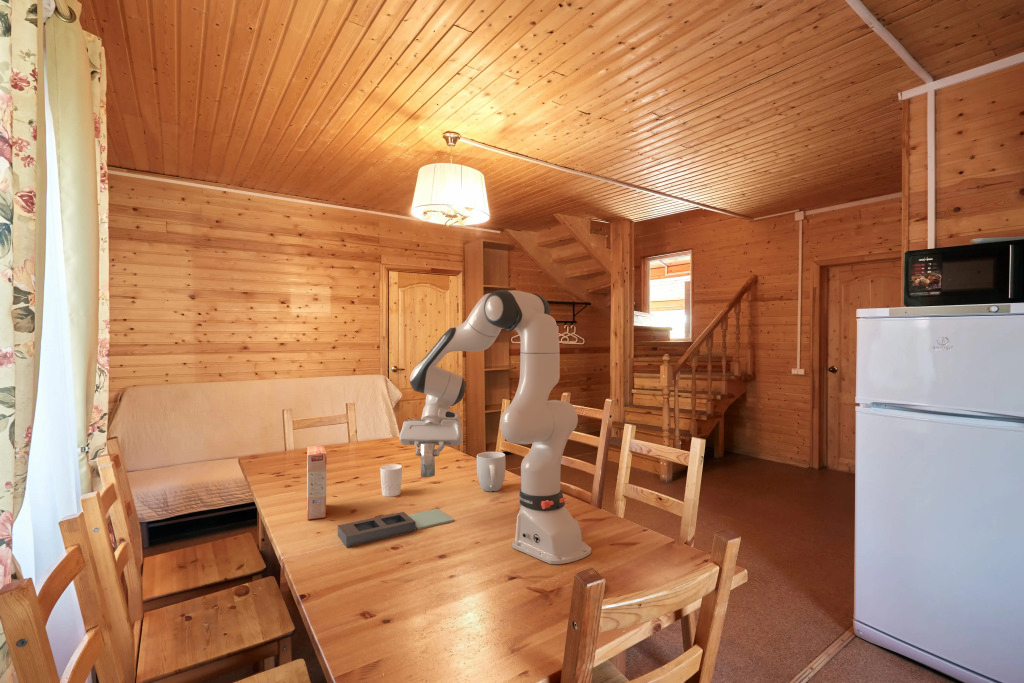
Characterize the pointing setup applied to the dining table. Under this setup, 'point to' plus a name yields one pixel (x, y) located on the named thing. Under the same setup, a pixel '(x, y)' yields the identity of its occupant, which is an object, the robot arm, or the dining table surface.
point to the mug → (491, 470)
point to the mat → (430, 518)
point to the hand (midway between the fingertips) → (427, 455)
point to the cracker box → (316, 482)
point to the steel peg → (427, 459)
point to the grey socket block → (375, 529)
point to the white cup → (391, 479)
